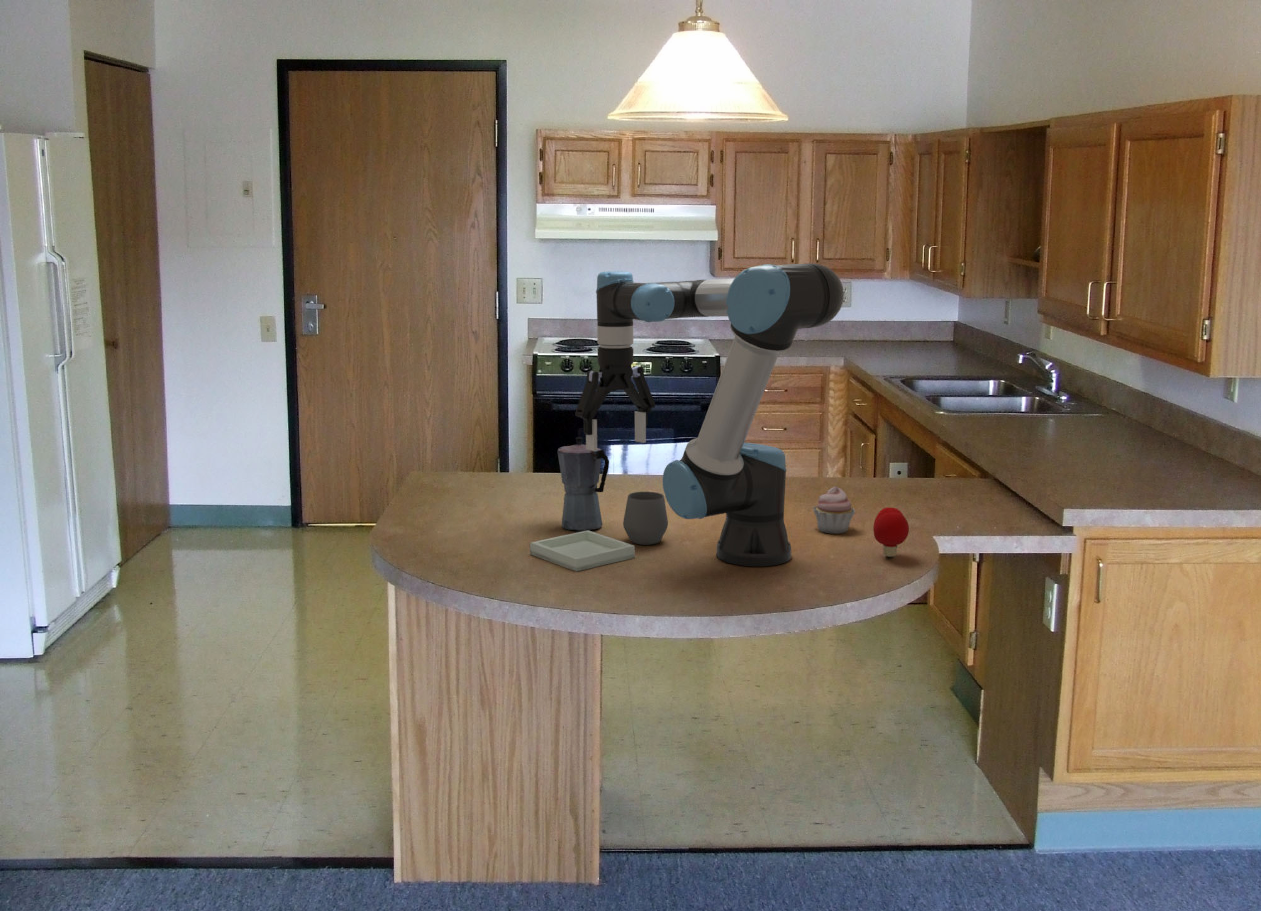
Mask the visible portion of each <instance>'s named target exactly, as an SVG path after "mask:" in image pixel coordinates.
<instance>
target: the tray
mask: <svg viewBox="0 0 1261 911" xmlns="http://www.w3.org/2000/svg"><path fill="white" fill-rule="evenodd" d="M529 544H530V545H529V546H530V547H529V548H530V553H529V554H530V555H531V556H534V557H536V558H539V559H542V560H544V561H548V562H550V563H553V564H555V565H558V566H560V567H563V568H566V569H568V570H571V571H574V572H580V571H584V570H588V569H589V570H590V569H592V568H593V569H594V568H597V567H601V566H605V565H609V564H613V563H617V562H621V561H627V560H631V559H635V553H636V552H635V549H636V548H635V547H636V546H635V545H633V544H630V543H627V542H626V541H625V542H624V541H621V540H618V539H616V538H613V537H609V536H607V535H604V534H600V533H597V532H594V531H591V530H582V531H577V532H575V533H574V532H573V533H569V534H565V535H564V534H563V535H560V536H559V535H558V536H555V537H550V538H545V539H541V540H536V541H532V542H530V543H529Z"/></svg>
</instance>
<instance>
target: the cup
mask: <svg viewBox="0 0 1261 911" xmlns="http://www.w3.org/2000/svg"><path fill="white" fill-rule="evenodd" d="M664 495H665V494H662V493H659V492H655V491H635V492H631V493H629V494H628V496H627V500H626V505H625V510H624V516H623V522H622V525H623V529H624V531H625V533H626V535H627V537H628V539H629V540H630V542H632V543H634V544H636V545H640V546H641V545H642V546H651V545H656V544H658V543H660V542H661V540H662V538H663V537H664V535H665V534H666V532H667V529H668V525H669V520H668V514H667V513H668V512H667V506H666V501H665V500H666V499H665V496H664Z"/></svg>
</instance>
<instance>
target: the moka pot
mask: <svg viewBox="0 0 1261 911" xmlns="http://www.w3.org/2000/svg"><path fill="white" fill-rule="evenodd" d="M575 440H576V441H575V442H576V444H573V445H566V446H565V445H564V446H561V447H558V449H557V456H558V457H557V458H558V464H559V470H560V476H561V483H562V484H563V488H564V492H565V493H564V497H563V508H562V517H561V527H562V528H563V529H564V530H568V531H576V532H582V531H587V530H589V531H591V530H596V529H597V530H598V529H599V528H602V526H603V519H602V514H601V506H600V502H599V501H600V500H599V494H598V493H603V492H604V490H605V485H606V479H607V475H608V474H609V473H608V472H609V468H610V466H609V465H610V460H609V458H608V455H606V454H605V451H604V449H601V448H598V447H597V451H592V450H587V449H586V444H583V441H584V440H583V437H581V436H578V437H575ZM602 460H603V461H604V465H603V468H602V470H603V471H602V474H601V479H600V472H601V461H602ZM599 482H600V483H599ZM598 483H599V486H598Z"/></svg>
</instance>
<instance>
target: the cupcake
mask: <svg viewBox="0 0 1261 911" xmlns="http://www.w3.org/2000/svg"><path fill="white" fill-rule="evenodd" d="M817 501H818V502H817V504H816V506H812V510H813V513H814V515H815V517H816V524H817V529H818V530H819V532H822V533H825V534H829V535H832V534H833V535H837V534H839V535H840V534H845V533H847V532H848V530H849V528H850V525H851V524H850V523H851V520H852V519H853V517H854V515H855V514H856V510H855V508H854V507H852V503H851V501H850V499H849V498H848V495H847V494H846V492H845V491H844V490H843V489H842V488H840V487H837V486H834V487H831V488H830V489H828V490H827V491H826V493H825V494H824V493H823V494H821V495H820V496H819V497H818V500H817Z"/></svg>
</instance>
